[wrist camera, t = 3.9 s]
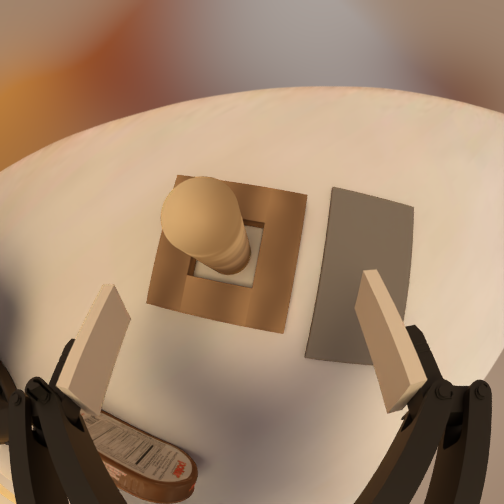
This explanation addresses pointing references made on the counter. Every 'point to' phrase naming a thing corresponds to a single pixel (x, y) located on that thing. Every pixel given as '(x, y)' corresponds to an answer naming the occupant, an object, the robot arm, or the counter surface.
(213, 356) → the counter surface
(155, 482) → the tin
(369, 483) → the robot arm
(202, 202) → the peg
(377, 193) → the counter surface
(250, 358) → the counter surface
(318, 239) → the counter surface
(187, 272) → the slot block
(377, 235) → the mat
